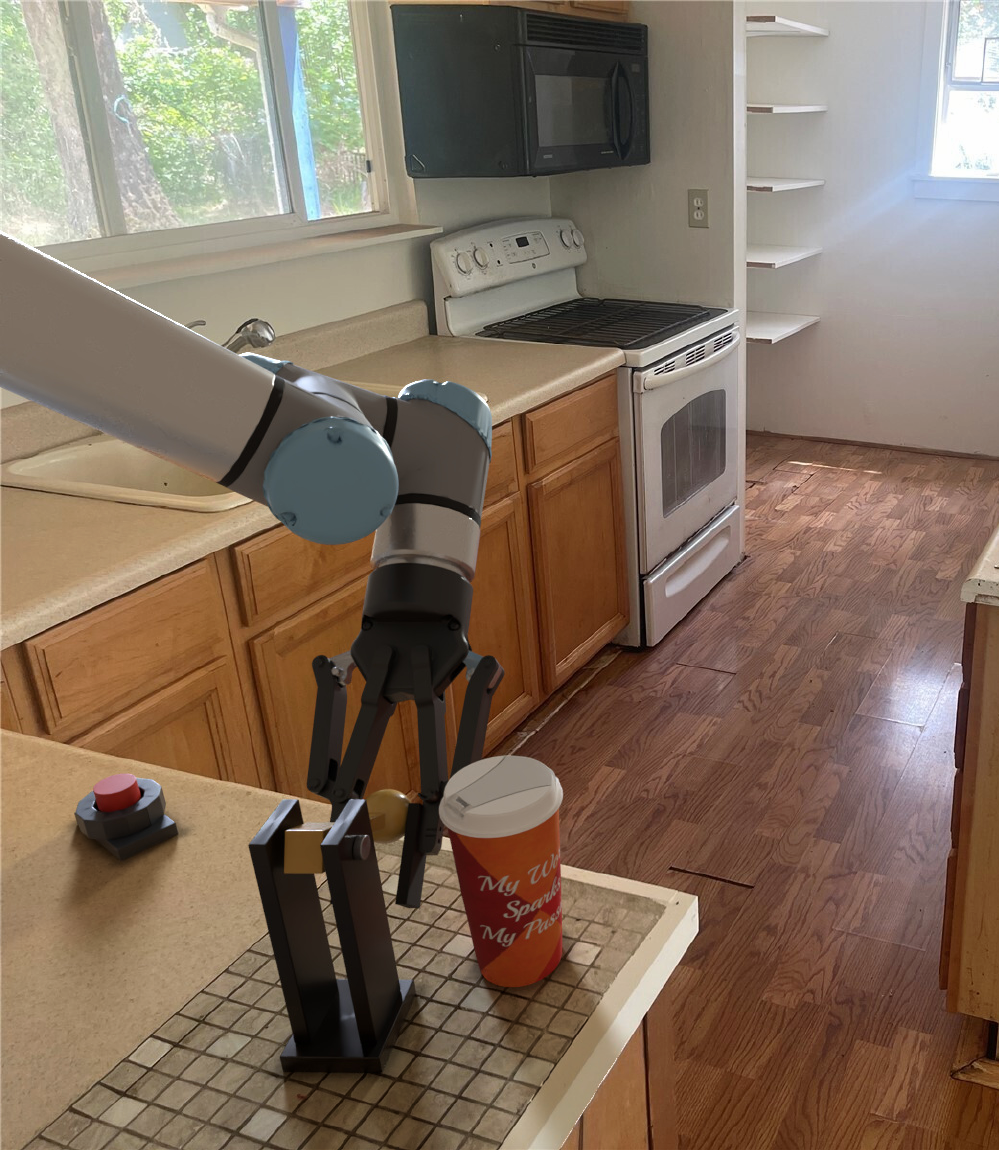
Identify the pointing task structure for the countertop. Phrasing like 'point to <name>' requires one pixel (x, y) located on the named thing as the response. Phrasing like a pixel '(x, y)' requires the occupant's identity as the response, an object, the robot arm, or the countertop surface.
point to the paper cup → (508, 864)
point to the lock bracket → (301, 949)
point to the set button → (116, 792)
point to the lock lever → (307, 838)
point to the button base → (128, 822)
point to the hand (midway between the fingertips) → (375, 905)
